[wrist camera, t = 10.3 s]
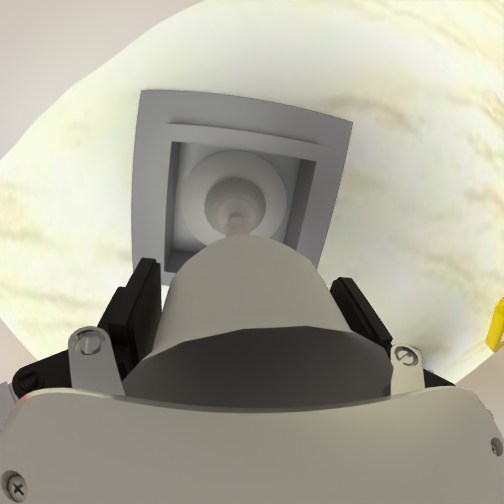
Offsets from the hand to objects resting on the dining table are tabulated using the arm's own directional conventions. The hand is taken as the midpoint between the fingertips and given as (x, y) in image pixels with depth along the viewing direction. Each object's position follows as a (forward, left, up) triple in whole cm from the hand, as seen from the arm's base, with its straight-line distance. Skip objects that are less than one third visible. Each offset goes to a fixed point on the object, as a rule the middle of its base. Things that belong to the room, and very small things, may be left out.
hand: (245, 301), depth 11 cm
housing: (0, 0, -15) cm, 15 cm away
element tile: (-64, +13, -15) cm, 67 cm away
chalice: (0, 0, -13) cm, 13 cm away
